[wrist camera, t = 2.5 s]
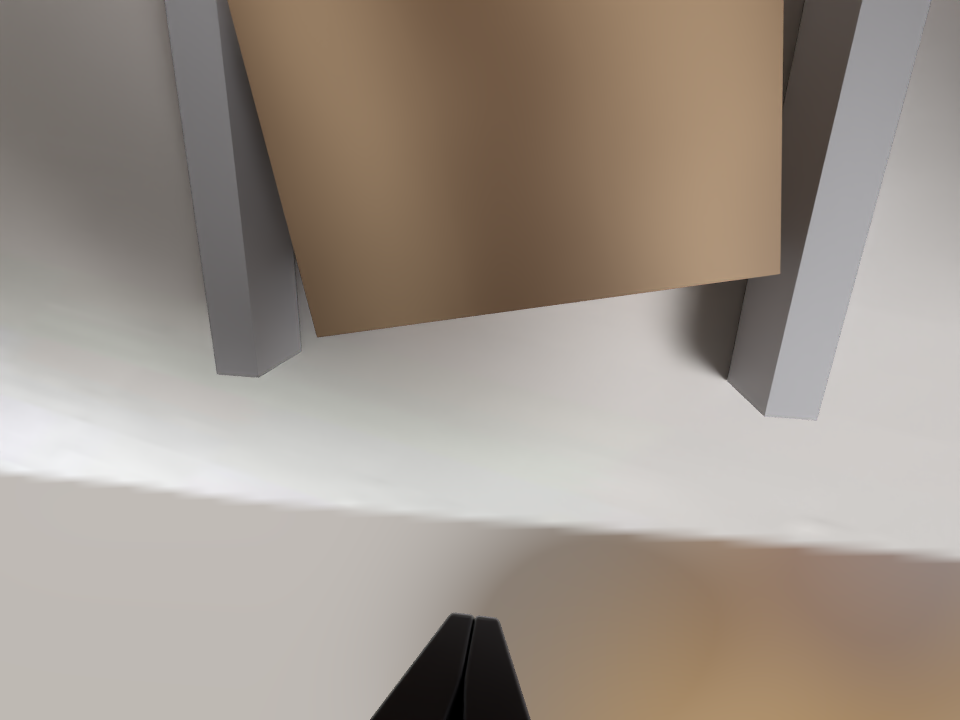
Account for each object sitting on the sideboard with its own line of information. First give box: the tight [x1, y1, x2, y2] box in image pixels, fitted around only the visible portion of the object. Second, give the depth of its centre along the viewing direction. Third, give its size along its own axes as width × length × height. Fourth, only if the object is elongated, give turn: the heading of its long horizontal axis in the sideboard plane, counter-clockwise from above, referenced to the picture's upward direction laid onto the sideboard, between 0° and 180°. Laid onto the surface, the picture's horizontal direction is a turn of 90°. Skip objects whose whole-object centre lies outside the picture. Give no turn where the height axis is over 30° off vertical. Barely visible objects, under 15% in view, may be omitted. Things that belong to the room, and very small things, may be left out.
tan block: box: [227, 0, 784, 337], centre depth 11 cm, size 10×7×4 cm
